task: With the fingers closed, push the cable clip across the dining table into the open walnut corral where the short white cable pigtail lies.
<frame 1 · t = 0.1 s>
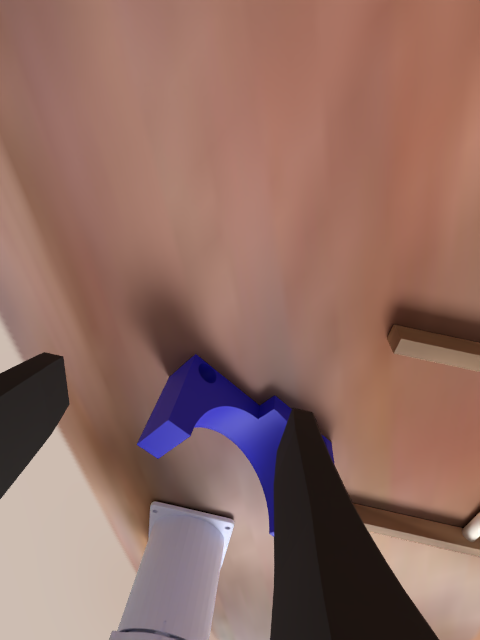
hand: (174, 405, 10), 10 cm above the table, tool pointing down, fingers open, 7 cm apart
corral: (446, 452, 23), on the table
cable clip: (252, 406, 24), on the table
cable pigtail: (478, 515, 26), on the table
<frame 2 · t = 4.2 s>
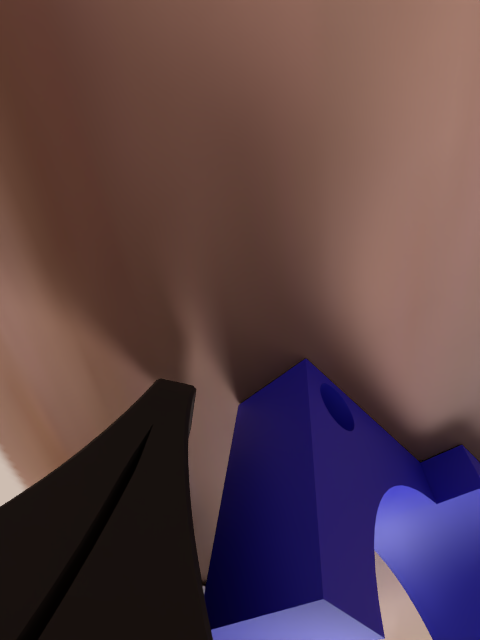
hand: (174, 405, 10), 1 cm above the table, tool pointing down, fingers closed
cable clip: (399, 466, 12), on the table, touching gripper
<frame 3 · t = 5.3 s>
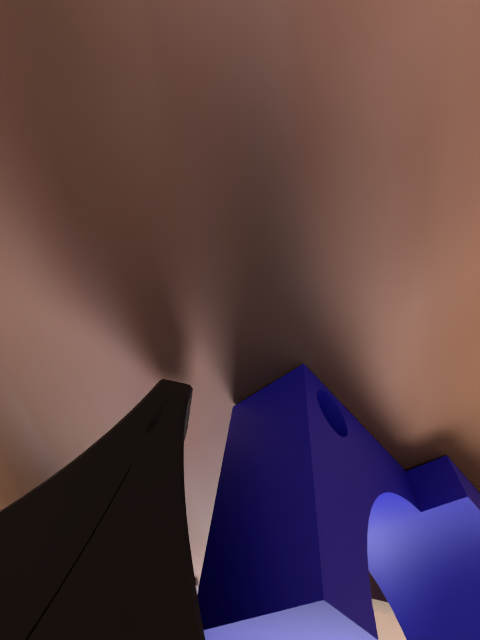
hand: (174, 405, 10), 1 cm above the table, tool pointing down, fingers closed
cable clip: (385, 473, 12), on the table, touching gripper
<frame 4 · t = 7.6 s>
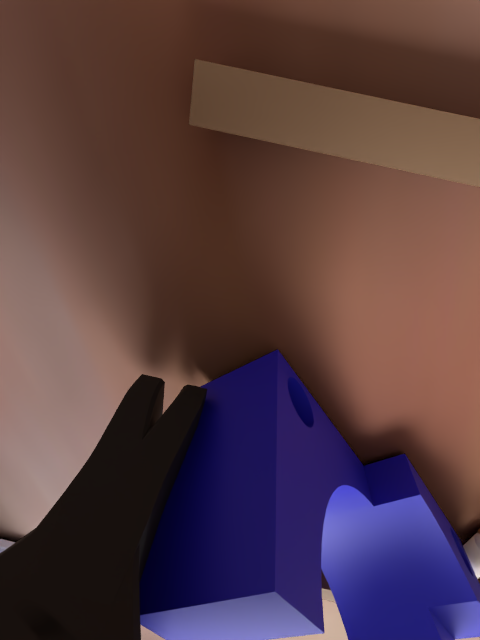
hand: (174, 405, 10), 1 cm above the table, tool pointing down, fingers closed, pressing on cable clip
corral: (387, 435, 11), on the table
cable clip: (343, 466, 13), on the table, touching cable pigtail, gripper
cable pigtail: (456, 556, 14), on the table
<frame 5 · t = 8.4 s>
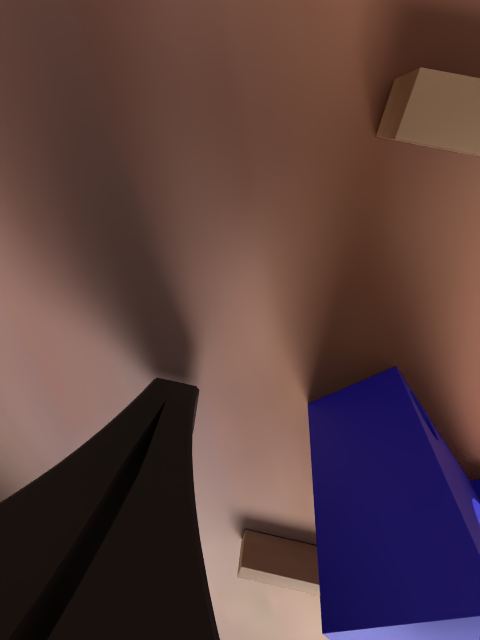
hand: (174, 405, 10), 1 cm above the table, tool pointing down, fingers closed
cable clip: (444, 477, 12), on the table
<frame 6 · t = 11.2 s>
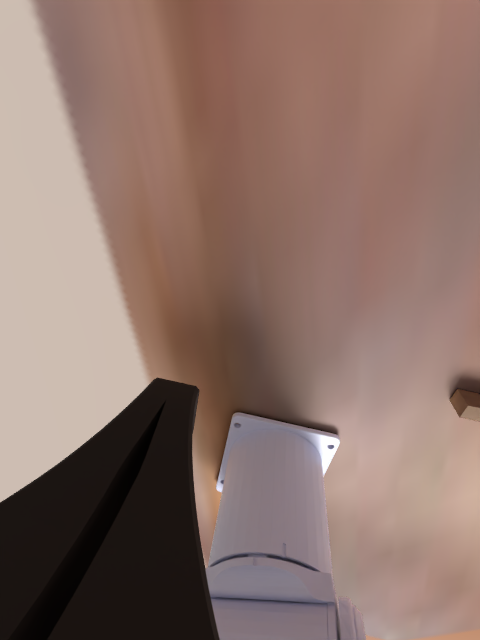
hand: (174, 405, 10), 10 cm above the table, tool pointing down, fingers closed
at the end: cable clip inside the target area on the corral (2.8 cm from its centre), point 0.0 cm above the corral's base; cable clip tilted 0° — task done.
